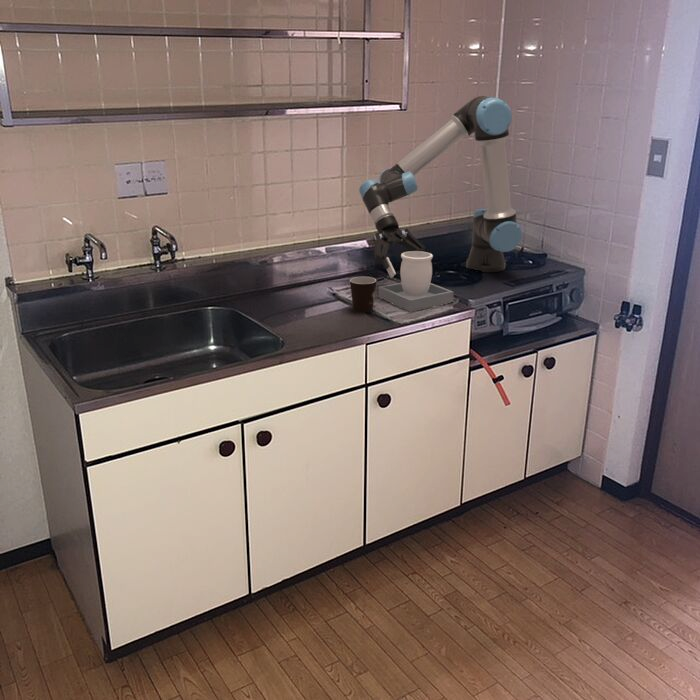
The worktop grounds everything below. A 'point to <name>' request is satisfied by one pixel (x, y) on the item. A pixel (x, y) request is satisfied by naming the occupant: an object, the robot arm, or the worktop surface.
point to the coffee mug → (363, 293)
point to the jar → (416, 273)
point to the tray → (434, 298)
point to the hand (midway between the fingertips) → (409, 272)
